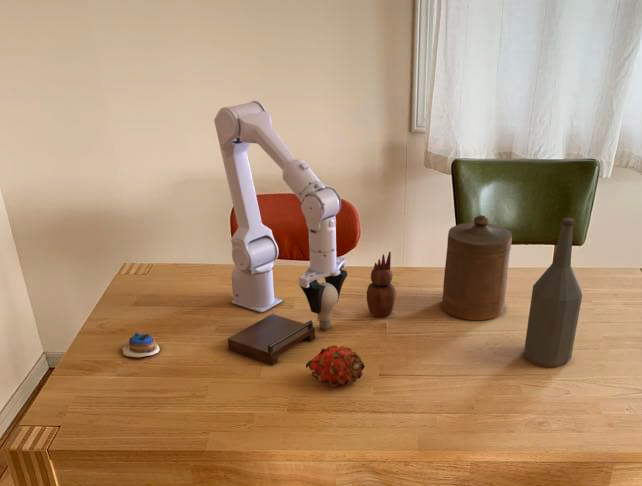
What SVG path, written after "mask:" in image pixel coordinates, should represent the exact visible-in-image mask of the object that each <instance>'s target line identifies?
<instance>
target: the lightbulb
mask: <svg viewBox="0 0 642 486" xmlns="http://www.w3.org/2000/svg"><path fill="white" fill-rule="evenodd" d="M318 283H319V285H323V286H325V288H324V291H323V295H322V301H321V312H320V313H319V314H317V319H318V325H319V328H320V329H322V330H324V331H326V330H327V331H328V329H330V328H331V327H332V325H331V324H332V318H333V312H334V309H335V307H336V305H337V304H338V303H337V301H338V302H339V299H338V293H337V290H336V289H335V287H334V286H333V285H331V284H329V283H326V281H324V282H318Z"/></svg>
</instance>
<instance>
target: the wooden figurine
mask: <svg viewBox="0 0 642 486" xmlns="http://www.w3.org/2000/svg"><path fill="white" fill-rule="evenodd" d="M385 257H386V256H385V254H384V253H382V257H381V259H380V258H378V260H377V262H374V266H373V269H372V270H371V272H370V280H371V283H370V284H369V285H368V286H367V289H366V304H367V308H368V310H369V312H370V314H371V315H373V316H374V317H378V318H379V317H380V318H385V317H389V316H390V315H392V313H393V311H394V308H395V304H396V298H397V290H396V289H397V288H396V287H395V285H394V284H393V283H392V281H393V271H392V270H391V261H392V258H391V257H392V252H391V251H389V252H388V255H387V257H386V259H385Z"/></svg>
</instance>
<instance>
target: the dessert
mask: <svg viewBox="0 0 642 486" xmlns="http://www.w3.org/2000/svg"><path fill="white" fill-rule="evenodd" d="M121 350H122V355H124V357H125V356H126V357H132V358H143V357H148V356H153V355H155V354H158V353H159V351H160V347H159V345H158V343H157V342H155V340H154V337H153V336H151V335H150V334H149V333H139V332H135V333H134V335H132V336H131V337H130V338H129V340H128V343H126V344H124V346H123V347H122V349H121Z"/></svg>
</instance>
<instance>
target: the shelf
mask: <svg viewBox="0 0 642 486" xmlns="http://www.w3.org/2000/svg"><path fill="white" fill-rule="evenodd" d="M314 340H316V327H315V326H314V322H313V320H309V321H307V322H306V323H303V322H299V321H296V320H293V319H290V318H287V317H284V316H280V315H278V314H275V313H271V314H269V315H267V316H266V317H264V318H261V320H259V321H256V322H255V323H253V324H251V325H249V326H248V327H246V328H244V329H242V330H240V331H238V332H237V333H235V334H233V335H231V336H230V337H227V347H228V351H230V352H233V353H236V354H238V355H241V356H244V357H247V358H249V359H253V360H255V361H258V362H260V363H264V364H266V365H269V366H274V365H275V364H277V363H278V355H280V354H282V353H284V352H285V351H287V350H288V349H290V348H292V347H293V346H295V345H296V344H298V343H300V342H301V341H307V342H312V341H314Z"/></svg>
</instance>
